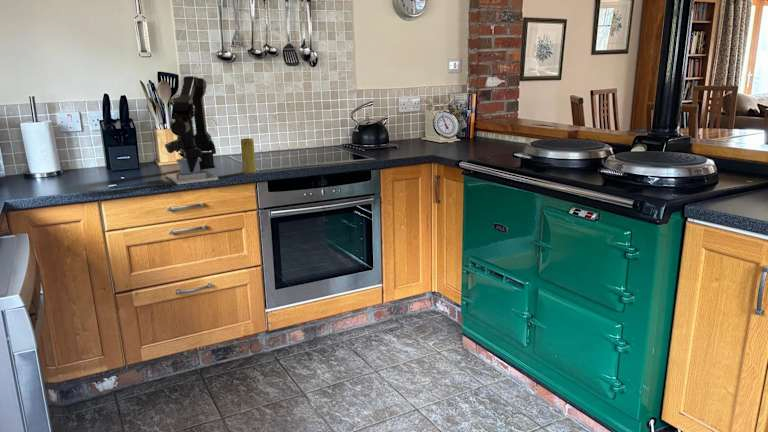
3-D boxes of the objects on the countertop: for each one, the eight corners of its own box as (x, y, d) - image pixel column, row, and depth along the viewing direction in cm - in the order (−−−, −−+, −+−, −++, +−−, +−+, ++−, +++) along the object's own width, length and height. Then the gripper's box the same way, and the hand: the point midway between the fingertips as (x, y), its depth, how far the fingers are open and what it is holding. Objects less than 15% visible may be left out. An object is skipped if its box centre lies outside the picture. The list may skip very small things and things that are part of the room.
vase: (242, 174, 243) (239, 140, 239) (242, 171, 249) (239, 138, 245) (257, 173, 244) (254, 139, 241) (256, 170, 250) (253, 138, 246)
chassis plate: (204, 172, 248) (204, 166, 248) (218, 179, 232) (217, 172, 231) (166, 176, 240) (165, 170, 239) (177, 184, 224) (176, 177, 223)
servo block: (200, 171, 236) (198, 155, 235) (202, 173, 233) (201, 157, 231) (177, 174, 232) (175, 158, 230) (180, 175, 228) (178, 159, 227)
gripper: (160, 132, 232) (164, 170, 236) (170, 136, 216) (175, 177, 220) (188, 130, 237) (192, 167, 241) (200, 134, 222) (204, 173, 226)
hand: (190, 171), depth 232 cm, fingers closed on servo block, 4 cm apart
